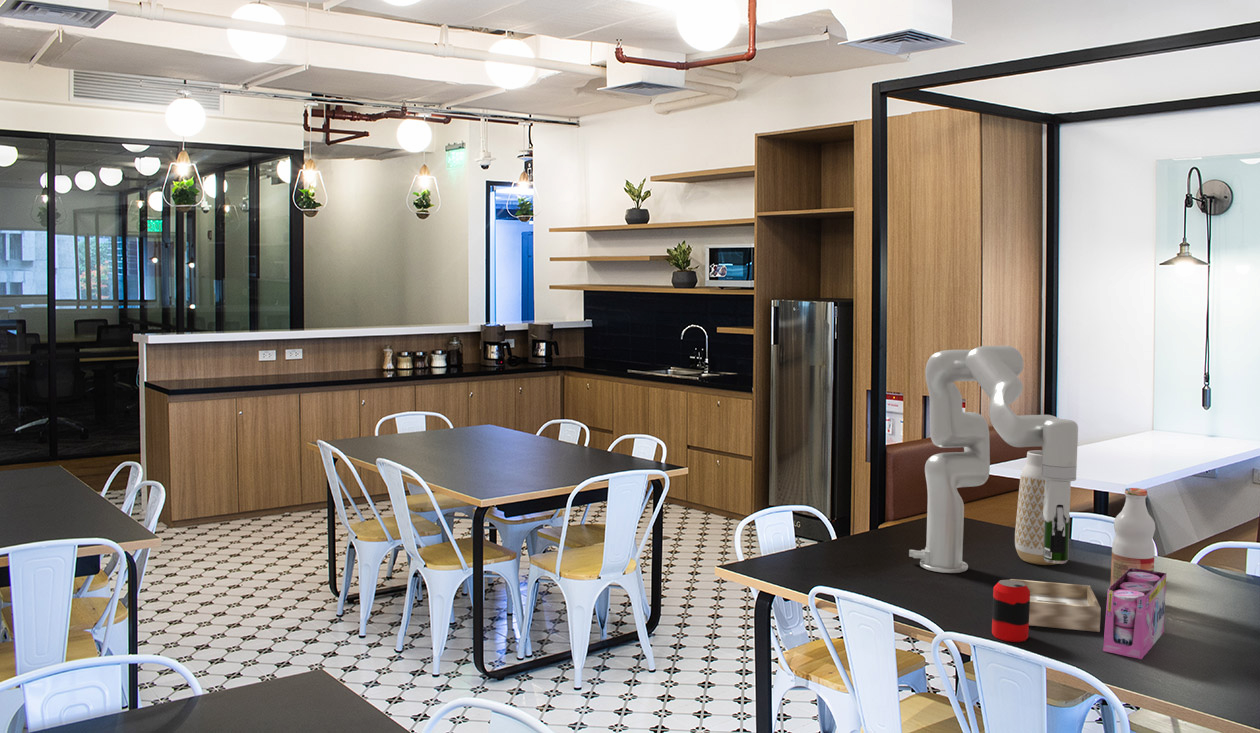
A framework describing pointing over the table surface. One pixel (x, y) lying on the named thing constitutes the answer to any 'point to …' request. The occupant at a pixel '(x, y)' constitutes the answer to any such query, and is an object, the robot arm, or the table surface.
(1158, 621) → the gum box
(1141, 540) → the fruit juice
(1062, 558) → the beer can
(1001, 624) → the soda can
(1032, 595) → the crate
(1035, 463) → the vase
